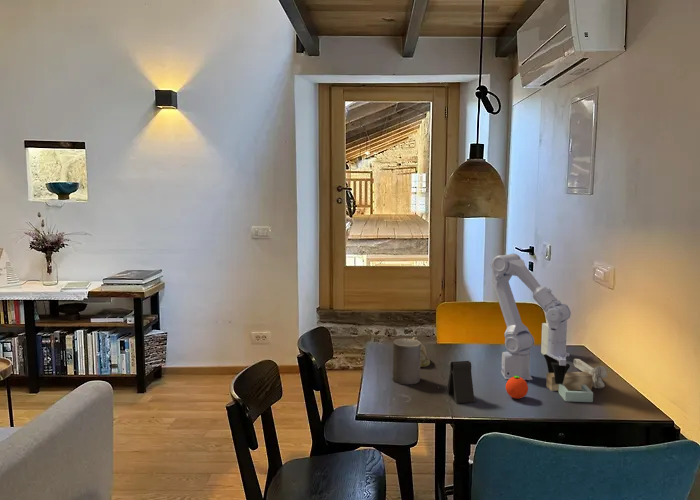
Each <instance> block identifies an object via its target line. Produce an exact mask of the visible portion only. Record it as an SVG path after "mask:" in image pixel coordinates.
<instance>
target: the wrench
mask: <svg viewBox="0 0 700 500" xmlns="http://www.w3.org/2000/svg"><path fill="white" fill-rule="evenodd" d="M573 366H574V367H575V368H577V369H578V370H580V372H588V373H589V374H591V375H592V376H593V377H592V383H593V384H594V388H595V389H603V388H604V387H605V386H606V385H605V383H604V382H603V378H608V374H607V370H606V368H605V366H601V365H598V366H596V367H593V366H591V365H589V364H588V363H586V362H585V361H583V360H582V359H580V358H574V359H573Z"/></svg>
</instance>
